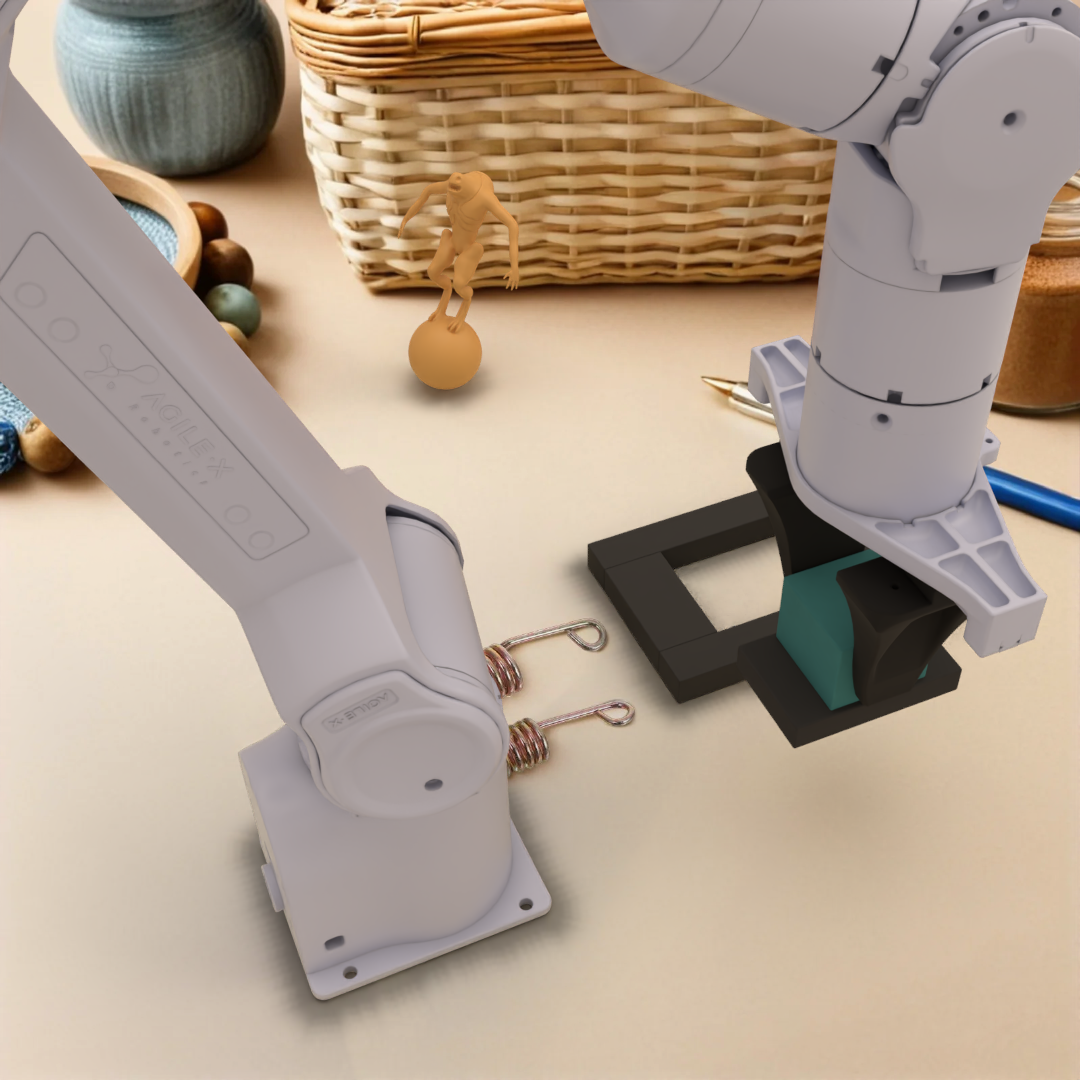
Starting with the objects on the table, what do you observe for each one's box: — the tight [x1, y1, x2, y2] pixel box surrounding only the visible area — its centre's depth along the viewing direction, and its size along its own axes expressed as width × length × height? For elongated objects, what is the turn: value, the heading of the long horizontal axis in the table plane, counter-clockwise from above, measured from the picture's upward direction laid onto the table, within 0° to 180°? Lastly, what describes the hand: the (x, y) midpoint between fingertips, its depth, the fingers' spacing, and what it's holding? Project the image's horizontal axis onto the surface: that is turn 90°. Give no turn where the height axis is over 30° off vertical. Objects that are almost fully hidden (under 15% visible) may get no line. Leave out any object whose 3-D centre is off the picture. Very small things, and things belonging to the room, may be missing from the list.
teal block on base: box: [736, 549, 963, 749], centre depth 53 cm, size 7×4×4 cm, turn 113°
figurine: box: [397, 170, 520, 391], centre depth 76 cm, size 8×6×12 cm
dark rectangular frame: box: [587, 489, 870, 704], centre depth 67 cm, size 14×9×2 cm
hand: (850, 649), depth 54 cm, fingers closed on teal block on base, 4 cm apart
